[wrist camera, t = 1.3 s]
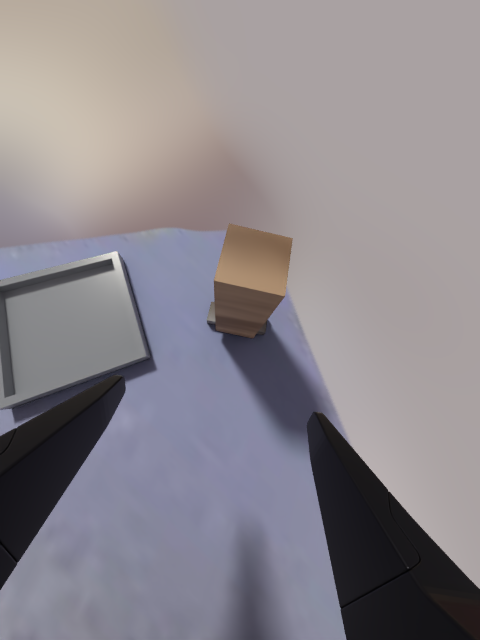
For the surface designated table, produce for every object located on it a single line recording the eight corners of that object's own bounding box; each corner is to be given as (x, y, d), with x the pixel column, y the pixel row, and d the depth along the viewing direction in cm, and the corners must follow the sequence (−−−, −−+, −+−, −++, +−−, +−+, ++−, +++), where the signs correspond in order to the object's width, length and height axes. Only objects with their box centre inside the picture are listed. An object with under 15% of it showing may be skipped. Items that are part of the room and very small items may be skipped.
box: (150, 357, 23) (146, 356, 21) (10, 408, 20) (-5, 410, 19) (122, 258, 26) (117, 251, 25) (-1, 289, 23) (-15, 283, 22)
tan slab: (261, 342, 25) (305, 300, 12) (205, 330, 24) (192, 275, 12) (267, 309, 26) (311, 242, 14) (213, 298, 26) (209, 219, 14)
